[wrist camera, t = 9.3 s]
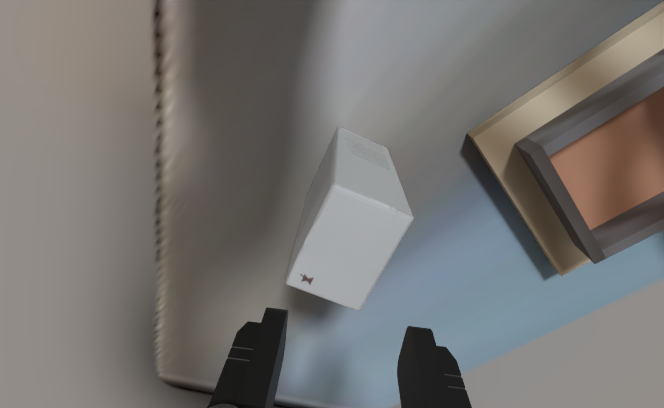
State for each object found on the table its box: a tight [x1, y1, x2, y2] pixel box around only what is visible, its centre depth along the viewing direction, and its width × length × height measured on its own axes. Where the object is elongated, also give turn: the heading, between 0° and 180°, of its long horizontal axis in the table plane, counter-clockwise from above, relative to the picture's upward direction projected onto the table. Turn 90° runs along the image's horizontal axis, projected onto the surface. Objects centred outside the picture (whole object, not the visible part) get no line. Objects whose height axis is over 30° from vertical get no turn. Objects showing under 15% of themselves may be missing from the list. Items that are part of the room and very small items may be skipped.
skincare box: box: [286, 127, 414, 311], centre depth 23 cm, size 6×4×12 cm
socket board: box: [467, 1, 664, 276], centre depth 25 cm, size 14×14×4 cm
